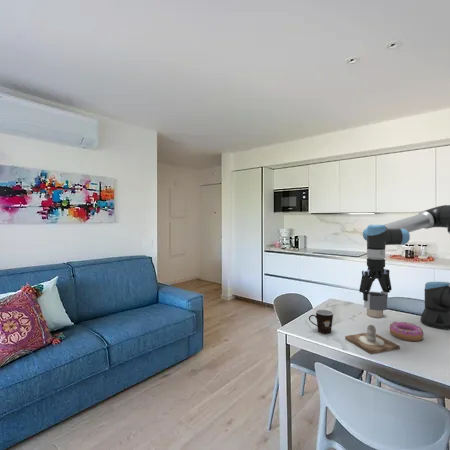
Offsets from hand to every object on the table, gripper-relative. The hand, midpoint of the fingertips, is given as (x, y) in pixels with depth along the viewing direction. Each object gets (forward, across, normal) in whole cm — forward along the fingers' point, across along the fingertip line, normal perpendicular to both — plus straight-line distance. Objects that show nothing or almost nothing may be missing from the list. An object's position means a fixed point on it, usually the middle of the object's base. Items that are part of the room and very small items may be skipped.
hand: (375, 306), depth 131 cm
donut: (+18, +22, +3) cm, 29 cm away
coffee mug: (+18, -14, +22) cm, 31 cm away
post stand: (+18, -1, +1) cm, 18 cm away
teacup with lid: (+18, +31, +32) cm, 48 cm away
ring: (0, 0, 0) cm, 0 cm away
